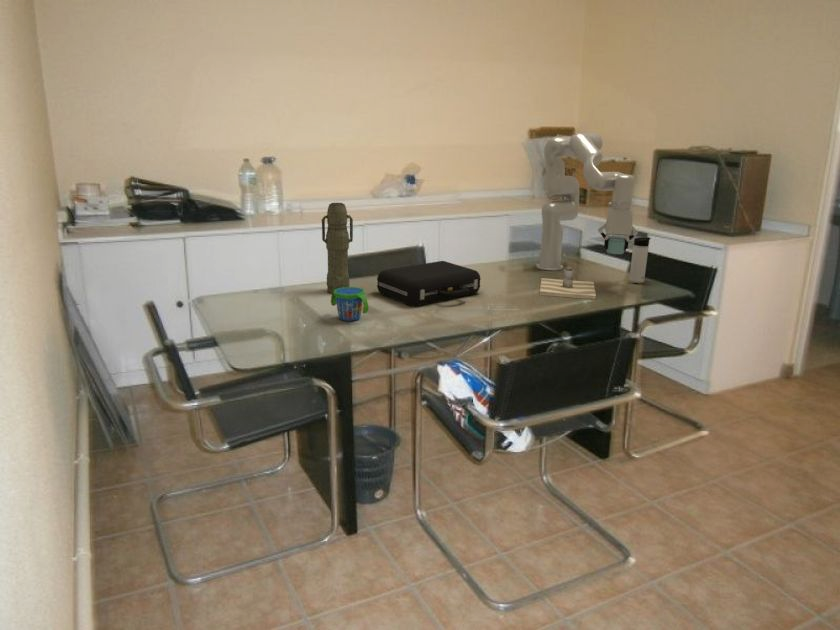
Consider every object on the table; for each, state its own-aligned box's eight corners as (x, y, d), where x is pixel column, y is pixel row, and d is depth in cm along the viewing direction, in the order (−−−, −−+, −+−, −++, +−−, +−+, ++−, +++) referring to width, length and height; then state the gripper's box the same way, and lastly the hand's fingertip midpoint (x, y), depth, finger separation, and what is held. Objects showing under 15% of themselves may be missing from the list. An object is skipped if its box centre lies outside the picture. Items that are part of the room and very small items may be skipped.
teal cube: (606, 250, 271) (608, 235, 269) (622, 251, 270) (624, 236, 268) (607, 253, 265) (609, 238, 263) (624, 254, 264) (626, 240, 262)
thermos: (320, 289, 264) (319, 202, 253) (349, 287, 268) (348, 201, 257) (326, 295, 256) (324, 205, 245) (355, 293, 260) (354, 204, 249)
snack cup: (323, 316, 231) (322, 288, 227) (346, 310, 238) (345, 283, 235) (353, 327, 221) (353, 298, 217) (375, 320, 228) (375, 292, 225)
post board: (541, 281, 284) (542, 260, 282) (593, 285, 280) (595, 263, 277) (539, 295, 264) (541, 272, 261) (595, 299, 260) (598, 276, 257)
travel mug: (646, 284, 284) (652, 239, 278) (631, 284, 284) (636, 238, 278) (642, 280, 290) (647, 236, 284) (627, 280, 290) (632, 235, 284)
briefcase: (422, 314, 237) (423, 287, 234) (373, 293, 261) (373, 269, 258) (494, 298, 259) (495, 273, 256) (442, 281, 282) (443, 258, 279)
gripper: (599, 206, 260) (594, 250, 266) (644, 208, 257) (638, 253, 262) (598, 203, 267) (593, 246, 273) (642, 205, 264) (636, 249, 269)
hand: (615, 249), depth 267 cm, fingers closed on teal cube, 6 cm apart
